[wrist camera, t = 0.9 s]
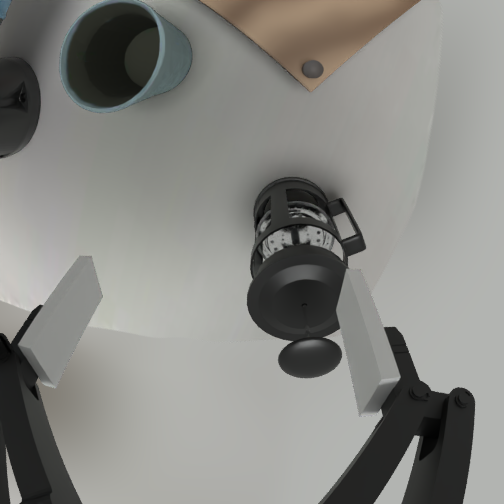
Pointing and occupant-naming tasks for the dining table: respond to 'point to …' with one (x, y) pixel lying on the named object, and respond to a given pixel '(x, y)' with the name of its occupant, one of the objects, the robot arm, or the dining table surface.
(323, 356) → the french press
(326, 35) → the wooden board with feet
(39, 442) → the robot arm
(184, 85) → the dining table surface
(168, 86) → the teal plant pot
